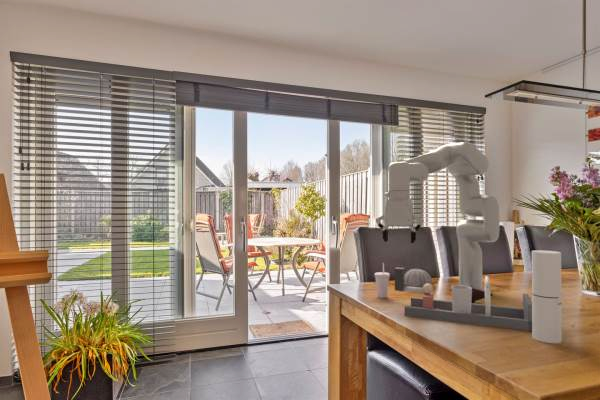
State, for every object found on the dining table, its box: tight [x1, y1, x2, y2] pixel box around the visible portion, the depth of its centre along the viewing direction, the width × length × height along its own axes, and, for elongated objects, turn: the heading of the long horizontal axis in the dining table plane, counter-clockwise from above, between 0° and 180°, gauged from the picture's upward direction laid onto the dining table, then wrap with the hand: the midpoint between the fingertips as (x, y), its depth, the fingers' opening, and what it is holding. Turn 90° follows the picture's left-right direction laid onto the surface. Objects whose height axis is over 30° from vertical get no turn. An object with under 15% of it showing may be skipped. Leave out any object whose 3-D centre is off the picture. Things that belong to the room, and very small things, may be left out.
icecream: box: [450, 286, 494, 304], centre depth 147 cm, size 7×8×15 cm
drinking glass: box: [450, 284, 472, 313], centre depth 130 cm, size 7×7×10 cm
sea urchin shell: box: [405, 268, 433, 288], centre depth 178 cm, size 13×14×8 cm
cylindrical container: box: [531, 249, 563, 344], centre depth 108 cm, size 7×7×25 cm
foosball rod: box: [394, 267, 434, 309], centre depth 137 cm, size 9×13×14 cm
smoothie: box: [374, 262, 391, 299], centre depth 157 cm, size 6×6×14 cm
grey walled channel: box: [404, 275, 532, 332], centre depth 129 cm, size 15×38×13 cm, turn 65°
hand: (399, 242), depth 139 cm, fingers open, 9 cm apart
